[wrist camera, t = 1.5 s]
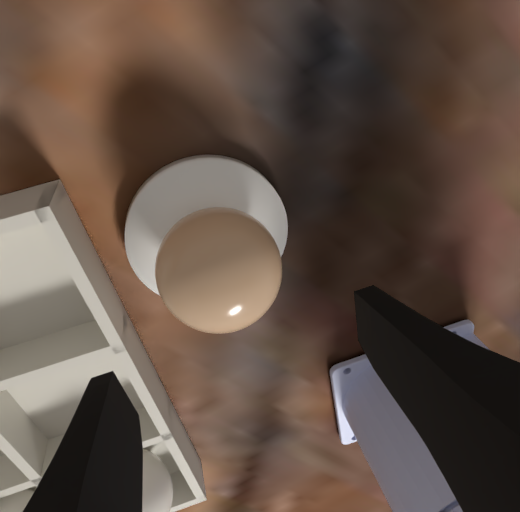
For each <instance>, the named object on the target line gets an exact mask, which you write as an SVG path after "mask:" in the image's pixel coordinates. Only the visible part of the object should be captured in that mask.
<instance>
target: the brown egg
mask: <svg viewBox="0 0 520 512" xmlns="http://www.w3.org/2000/svg"><path fill="white" fill-rule="evenodd" d="M155 279H156V284H157V288H158V291H159V294H160V296H161V298H162V300H163V302H164V304H165V305H166V307H167V308H168V309H169V311H170V312H171V313H172V314H173V315H174V316H175V317H176V318H177V319H178V320H180V321H181V322H182V323H184V324H185V325H187V326H189V327H191V328H194V329H196V330H199V331H202V332H206V333H215V334H220V333H230V332H234V331H238V330H241V329H243V328H245V327H247V326H249V325H251V324H253V323H254V322H256V321H257V320H258V319H260V318H261V317H262V316H263V315H264V314H265V313H266V312H267V310H268V309H269V308H270V306H271V305H272V303H273V302H274V300H275V298H276V296H277V294H278V291H279V288H280V285H281V279H282V262H281V256H280V252H279V249H278V247H277V244H276V242H275V240H274V238H273V237H272V235H271V234H270V232H269V231H268V230H267V229H266V227H265V226H264V225H263V224H262V223H260V222H259V221H258V220H257V219H255V218H254V217H252V216H251V215H249V214H247V213H245V212H242V211H240V210H237V209H233V208H227V207H210V208H205V209H201V210H198V211H195V212H193V213H191V214H189V215H187V216H185V217H183V218H182V219H180V220H179V221H178V222H177V223H176V224H175V225H174V226H173V227H172V228H171V229H170V230H169V231H168V233H167V234H166V236H165V237H164V238H163V240H162V242H161V244H160V247H159V250H158V253H157V256H156V262H155Z"/></svg>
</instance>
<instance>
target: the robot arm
mask: <svg viewBox="0 0 520 512" xmlns="http://www.w3.org/2000/svg"><path fill="white" fill-rule="evenodd" d="M354 297H355V308H356V320H357V331H358V341H359V343H360V344H361V346H362V348H363V350H364V352H365V354H364V355H361V356H358V357H355V358H353V359H350V360H347V361H344V362H341V363H338V364H335V365H334V366H332V367H331V369H330V379H331V385H332V392H333V399H334V405H335V412H336V418H337V425H338V431H339V438H340V440H341V443H342V444H346V445H347V444H350V443H353V442H356V441H357V442H358V444H359V446H360V448H361V450H362V452H363V454H364V456H365V458H366V460H367V462H368V464H369V466H370V468H371V470H372V472H373V474H374V476H375V478H376V480H377V481H378V483H379V485H380V487H381V489H382V491H383V493H384V495H385V497H386V499H387V501H388V503H389V505H390V507H391V509H392V511H393V512H520V362H517V361H514V360H512V359H509V358H507V357H505V356H502V355H500V354H498V353H495V352H493V351H491V350H489V349H488V348H487V347H486V346H485V345H484V344H483V343H482V342H481V341H480V340H479V339H478V338H477V337H476V336H475V335H474V334H473V332H474V324H473V323H472V322H471V321H470V320H463V321H460V322H457V323H454V324H451V325H448V326H445V327H442V326H440V325H438V324H437V323H435V322H433V321H431V320H429V319H428V318H426V317H424V316H422V315H421V314H419V313H417V312H416V311H414V310H412V309H411V308H409V307H408V306H406V305H404V304H403V303H401V302H399V301H398V300H396V299H395V298H393V297H391V296H390V295H388V294H387V293H385V292H383V291H382V290H380V289H379V288H377V287H375V286H374V285H372V286H369V287H366V288H363V289H360V290H357V291H354ZM142 491H143V446H142V436H141V427H140V419H139V414H138V413H137V411H136V409H135V407H134V406H133V404H132V402H131V401H130V399H129V397H128V395H127V394H126V392H125V390H124V389H123V387H122V385H121V384H120V382H119V380H118V378H117V377H116V375H115V373H114V372H113V371H111V372H108V373H105V374H102V375H99V376H96V377H93V378H91V379H90V381H89V383H88V385H87V387H86V389H85V392H84V394H83V396H82V398H81V400H80V403H79V405H78V407H77V409H76V411H75V414H74V416H73V418H72V420H71V422H70V424H69V426H68V428H67V430H66V432H65V435H64V437H63V439H62V441H61V443H60V445H59V447H58V449H57V451H56V453H55V455H54V457H53V459H52V460H51V462H50V464H49V466H48V468H47V470H46V471H45V473H44V475H43V477H42V479H41V481H40V482H39V484H38V486H37V488H36V490H35V492H34V493H33V495H32V497H31V498H30V500H29V502H28V503H27V505H26V507H25V508H24V510H23V512H142Z"/></svg>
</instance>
